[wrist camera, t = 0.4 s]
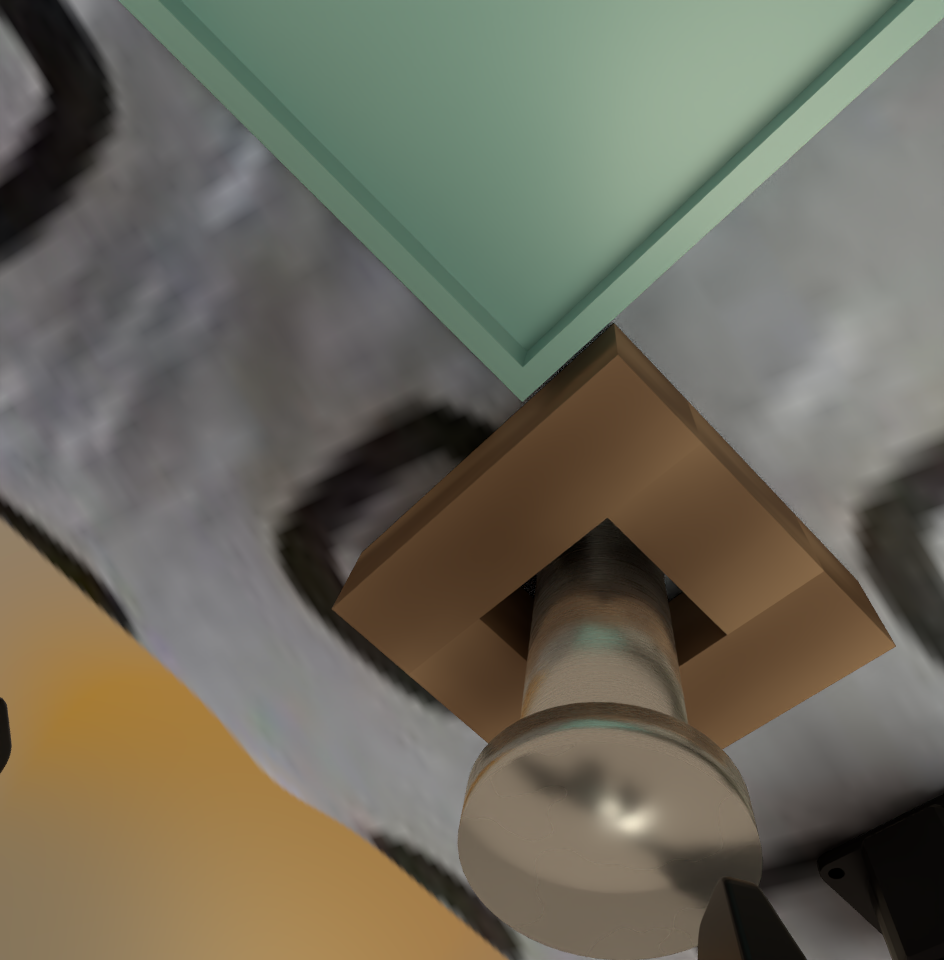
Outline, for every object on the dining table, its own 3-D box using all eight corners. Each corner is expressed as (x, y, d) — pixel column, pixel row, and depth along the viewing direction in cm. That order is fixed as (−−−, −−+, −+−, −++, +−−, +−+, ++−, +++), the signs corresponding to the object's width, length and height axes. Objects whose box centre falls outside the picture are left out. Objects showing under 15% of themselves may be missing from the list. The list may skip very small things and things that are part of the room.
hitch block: (858, 581, 22) (895, 645, 19) (588, 754, 25) (587, 829, 23) (614, 322, 20) (617, 354, 17) (361, 553, 23) (331, 608, 21)
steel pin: (731, 573, 22) (828, 882, 13) (593, 669, 24) (594, 995, 15) (606, 448, 21) (618, 690, 12) (473, 559, 23) (398, 838, 14)
